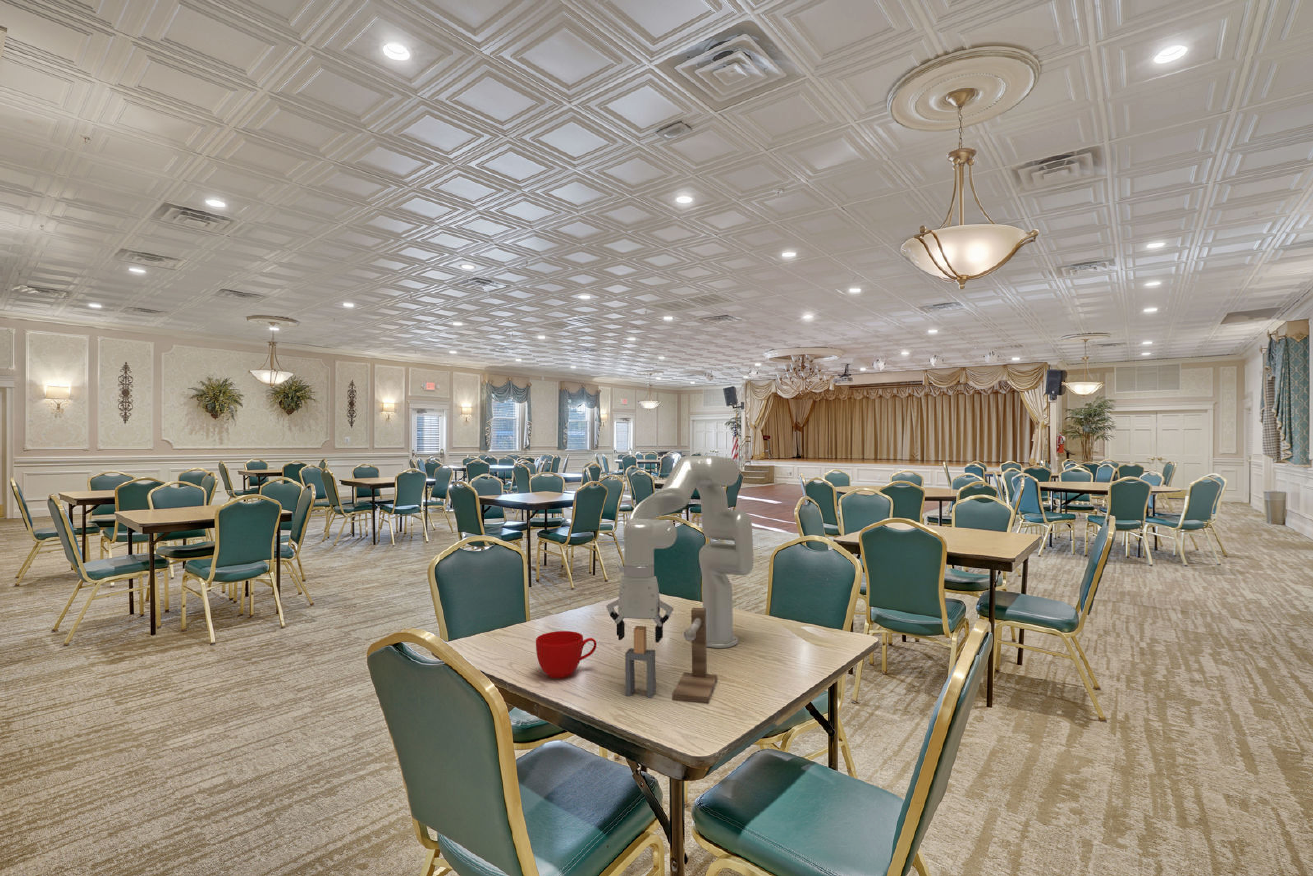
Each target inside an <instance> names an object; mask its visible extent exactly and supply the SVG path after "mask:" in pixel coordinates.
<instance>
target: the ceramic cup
mask: <svg viewBox="0 0 1313 876" xmlns="http://www.w3.org/2000/svg"><path fill="white" fill-rule="evenodd" d="M589 642H593V647H592V648H591V649H590V651H589V652H587V653H586V654H584V655H582V654H583V649H584V647H585V645H586V644H587V643H589ZM596 649H597V640H595V639H594V638H593V637H587V638H585V639H584V636H583V634H581V633H580V632H576V631H572V630H571V631H569V630H558V631H550V632H546V633H542V634H541V635H538V636H537V637H536V639H535V651H536V656H537V657H536V658H537V661H538V665H539V666H540V668H541V670H542V671H543V672H544V673H545V675H547V677H548V676H549V677H548V678H550V677H551V679H555V678H560V679H565V677H566V678H568V676H569V677H570V676H572V674H573V673H574V671H575V670H576V669H577V667H578V666H579V664H580V662H581V661H582V660H584V659H586V658H589V657H590V656H591V655H593V654H594V652H595V651H596Z"/></svg>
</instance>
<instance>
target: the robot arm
mask: <svg viewBox="0 0 1313 876" xmlns="http://www.w3.org/2000/svg"><path fill="white" fill-rule="evenodd" d="M739 476H740V468H739V465H738V462H736V460H734V458H731V457H726V456H725V457H723V456H715V455H688V456H687V455H686V456H682V457H680V458H679V459H678V460H677V461H676V462H675V465H674V466H673V468H672V469H671V471H670V473H669V475H668V476H667V478H666V480H665V482H664V484H663V485H662V487H661V488H660V489H659V490H657V491H655V492H653V493H651V494H650V495H649V496H647V497H646V498H644V499H643V500H642V501H640V502H639V503H638V504H637V505H636V506H635V507H634V509H633V510H632V512H631V514H630V515H629V516H628V519H627V521H626V523H625V525H624V528H623V530H624V531H623V537H624V538H623V539H624V541H623V542H624V543H623V544H624V547H623V549H624V551H623V552H624V554H623V555H624V557H623V558H624V564H623V565H621V566H619V567H618V571H619V572H621V573H623V576H621V577H620V583H619V588H618V589H619V590H618V599H615V600H614V601H611V602H610V603H608V604H606V606H605V607H606V609H607V612H608V613H609V616H610V618H612V620H613V621H614V624H616V636H618V641H621V640H623V639H624V638H625V633H626V632H625V622H624V619H634V620H635V619H636V620H653V621H654V623H655V624H656V625H655V628H654V629H655V631H654V633H655V634H654V638H655V639H654V640H655V641H654V642H655V643H656V644H657V643H659V642H660V641H661V640H662V639H663V637H664V632H663V631H664V625H665V623H666V622H667V621H668V620H669V619H670V617H671V615H672V613H673V611H674V607H672V606H671V605H670V604H667V603H666V602H664V601H663V600H661V599H660V598H661V597H660V591H659V590H660V589H659V583H658V578H657V576H655V550H657V549H661V550H663V549H664V550H665V549H668V548H670V547H671V546H673V545H674V544H675V542H676V541H677V537H678V536H677V535H678V532H677V531H678V530H677V528H676V525H675V524H674V523H672V521H669V520H667V519H666V520H665V519H657V518H658V517H660V516H663V515H667V514H670V513H673V512H676V511H678V510H681V509H684V508H685V507H686V506H687V505H688V504H689V502H690V500H691V497H692V495H693V494H694V492H695V490H696V491H697V492H698V495H699V497H700V510H701V528H702V533H703V536H704V537H705V538H707V539H712V540H720V541H733V543H725V542H724V543H721V542H707V543H705V544H704V545H702V547H701V548H700V550H699V554H698V560H699V567H700V571H701V580H702V583H701V584H702V585H701V586H702V608H706V648H715V649H716V648H717V649H724V648H731V647H734V646H736V645H738V643H739V639H738V637H737V636H736V635H734V625H733V623H734V622H733V621H734V618H733V616H734V615H733V586H732V583H731V580H730V579H729V577H728V575H733V576H747V575H749V574H751V572H752V570H753V567H754V542H753V541H754V539H753V526H752V525H753V524H752V520H751V517H750V516H749V514H748V513H747V512H746V511H742V510H735V509H734V510H731V509H729V505H728V496H727V495H728V494H727V492H726V489H725V488H724V487H725V486H726V487H731V486H734V485H735V484H736V483H737V481H738V479H739ZM615 607H617V611H616V609H615ZM661 609H662V610H664V611H665V614H664V616H662V615H661V614H660V612H661Z"/></svg>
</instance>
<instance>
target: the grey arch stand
mask: <svg viewBox="0 0 1313 876" xmlns="http://www.w3.org/2000/svg"><path fill="white" fill-rule="evenodd" d="M647 643H648V642H647V626H645V625H644V626H643V625H636V626H635V627H634V628H633V648H629V649H627V651H625V653H624V655H625V656H624V659H625V660H624V661H625V663H624V664H625V668H624V671H625V672H624V674H625V679H624V680H625V681H624V682H625V696H626V697H630V696H632V694H633V693H634V692H633V691H635V686H636V685H635V683H636V681H635V679H636V678H635V661H639V662H640V661H642V662H646V695H647V696H646V697H647V698H650V699H652V698H653V697H654V696H655V694H656V693H657V692H656V691H657V686H656V684H657V683H656V682H657V681H656V674H657V673H656V650H655V649H647Z"/></svg>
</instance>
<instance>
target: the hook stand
mask: <svg viewBox="0 0 1313 876" xmlns="http://www.w3.org/2000/svg"><path fill="white" fill-rule="evenodd" d="M690 612H691V615H690V617H691V618H690V619H691V625H690V626H689V628H688V627H687V628H686V629H685V630H684V631H683V638H684V639H685V640H686V641H688V642H691V671H692V672H688V671H684V672H683V673H682V675H681V677H680V679H679V681H678V683H677V684H676V686H675V688H674V690H673V692H672V694H671V700H672V701H677V702H690V703H699V704H701V703H702V704H709V703H710V700H711V699H712V695H713V694H714V690H715V687H716V686H717V683H718V674H714V673H708V671H707V669H708V668H707V666H708V662H707V657H708V655H707V653H708V652H707V646H706V608H703V607H692V608H691V611H690Z"/></svg>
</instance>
